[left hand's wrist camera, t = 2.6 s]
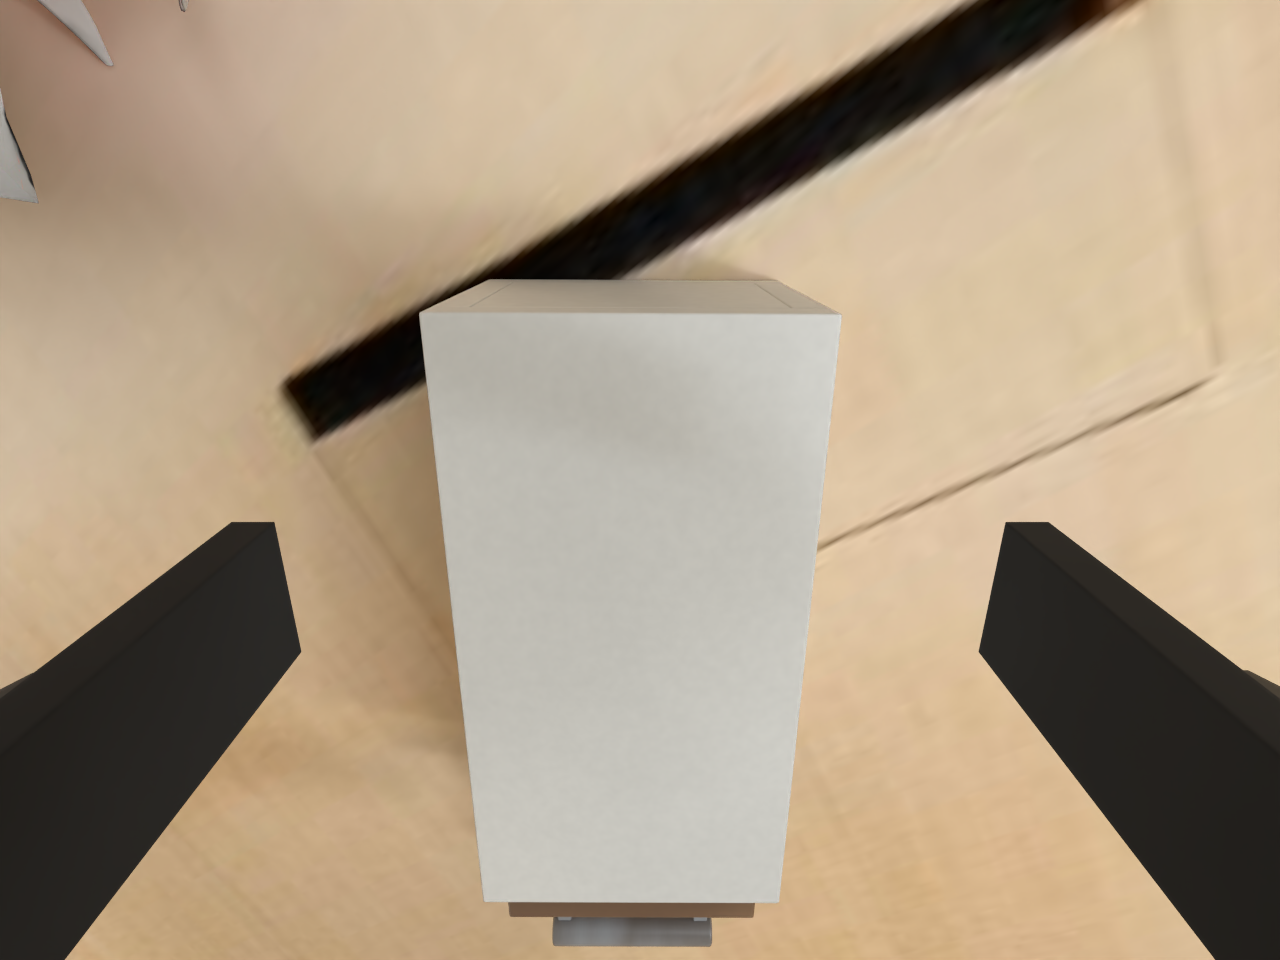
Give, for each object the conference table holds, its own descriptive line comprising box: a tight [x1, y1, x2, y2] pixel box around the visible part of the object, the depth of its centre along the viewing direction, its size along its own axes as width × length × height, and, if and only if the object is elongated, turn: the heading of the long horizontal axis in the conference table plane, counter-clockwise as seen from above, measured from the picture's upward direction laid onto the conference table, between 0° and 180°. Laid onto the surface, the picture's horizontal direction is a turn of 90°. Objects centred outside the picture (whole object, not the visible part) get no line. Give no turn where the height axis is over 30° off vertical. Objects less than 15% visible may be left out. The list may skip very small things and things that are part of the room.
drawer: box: [508, 902, 755, 947], centre depth 26 cm, size 24×9×6 cm, turn 0°
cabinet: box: [419, 279, 842, 903], centre depth 25 cm, size 20×10×8 cm, turn 0°
